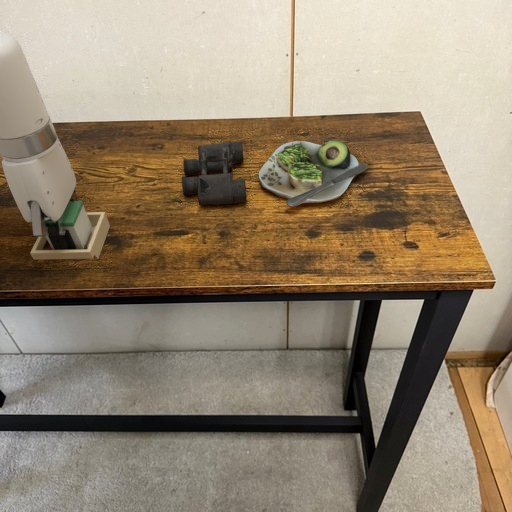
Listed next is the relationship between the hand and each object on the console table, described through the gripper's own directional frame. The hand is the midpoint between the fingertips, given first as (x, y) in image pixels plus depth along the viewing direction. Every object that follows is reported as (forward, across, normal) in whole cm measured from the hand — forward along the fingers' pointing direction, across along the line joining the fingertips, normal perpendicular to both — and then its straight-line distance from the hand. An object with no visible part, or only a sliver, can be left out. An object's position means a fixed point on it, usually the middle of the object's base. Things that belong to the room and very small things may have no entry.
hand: (71, 236), depth 72 cm
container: (0, 0, 0) cm, 0 cm away
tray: (+2, 0, 0) cm, 2 cm away
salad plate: (+2, -18, +39) cm, 43 cm away
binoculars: (+2, -16, +21) cm, 27 cm away
